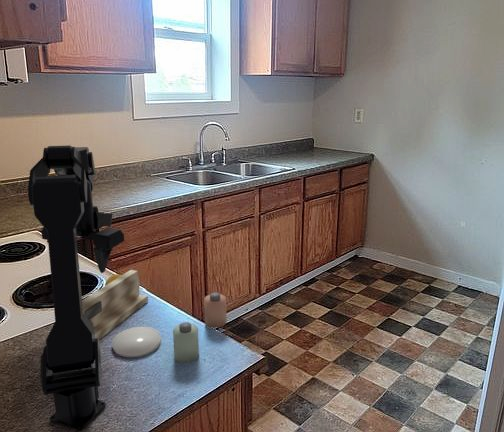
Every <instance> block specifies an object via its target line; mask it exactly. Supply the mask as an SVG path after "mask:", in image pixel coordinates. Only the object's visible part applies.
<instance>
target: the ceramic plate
mask: <svg viewBox="0 0 504 432" xmlns="http://www.w3.org/2000/svg"><path fill="white" fill-rule="evenodd" d="M161 337H162V336H161V333H160V331H158V330H157V329H155V328H153V327H149V326H134V327H131V328H127V329H124V330H122V331H120V332H119V333H117V334H116V335H115V336H114V338H113V339H112V342H111V343H112V345H111V346H112V350H113V352H114V353H115V354H116V355H118V356H121V357H124V358H138V357H144V356H146V355H147V356H148V355H149V354H151V353H153V352H154V351H155V350H157V349H158V348H159V347H160V345H161V343H162V339H161Z"/></svg>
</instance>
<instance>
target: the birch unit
mask: <svg viewBox="0 0 504 432" xmlns="http://www.w3.org/2000/svg"><path fill="white" fill-rule="evenodd" d="M121 275H122V276H120V277H119V278H117V279H115V280H114V281H112V282H111V283H109V284H107V285H106V286H105V285H104V286H103V287H100V289H98V290H97V291H95V292H93V293H92V294H90V295H88V296H87V297H85V298H84V299H82V307H83V314H84V315H85V316H86V317H87V318H88V319H90V320H91V321H92V323H93V326H94V331H95V338H99V340H100V339H102V338H103V337H104V336H106V335H107V334H109V333H110V332H111V331H112V330H113V329H115V328H117V326H119V325H120V324H121V323H122V322H123V321H125V320H126V319H127V318H128V317H130V316H131V315H133V313H135V312H136V311H137V310H139V309H140V308H141V307H143V306H145V304H147V303H148V302H149V296H148V295H146V294H140V286H139V283H138V278H139V273H138V270H135V269H130V270H128V271H127V272H125V273H123V274H121Z"/></svg>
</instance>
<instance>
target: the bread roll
mask: <svg viewBox="0 0 504 432" xmlns="http://www.w3.org/2000/svg"><path fill="white" fill-rule="evenodd" d="M122 275H123V274H120V273H119V274H113V275H111V276H109V277H108V278H107V280H106V281H105V283H104V286H106V285H107V284H109V283H111V282H112V281H114V280H115V279H117V278H119V277H120V276H122ZM138 283H139V287H140V286H141V279H140V277H138Z"/></svg>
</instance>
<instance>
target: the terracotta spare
mask: <svg viewBox="0 0 504 432" xmlns="http://www.w3.org/2000/svg"><path fill="white" fill-rule="evenodd" d="M203 300H204V301H203V302H204V304H203V306H204V323H205V326H206V327H209V328H210V329H211V328H212V329H215V328H217V329H218V328H222V327H224V326H226V324H227V297H226V296H225V295H223V294H221V293H219V292H212V293H210V294H208V295H205V296H204V299H203Z"/></svg>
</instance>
